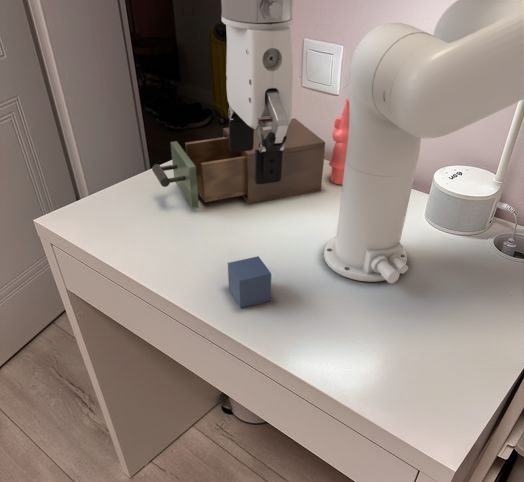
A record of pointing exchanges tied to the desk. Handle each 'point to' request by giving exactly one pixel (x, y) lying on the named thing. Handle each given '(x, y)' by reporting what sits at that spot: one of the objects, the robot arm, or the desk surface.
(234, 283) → the block
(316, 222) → the desk surface
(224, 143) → the drawer
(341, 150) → the figurine
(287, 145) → the cabinet
